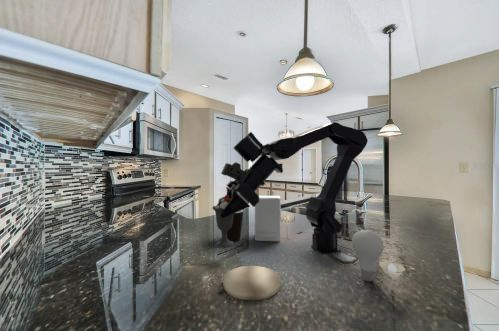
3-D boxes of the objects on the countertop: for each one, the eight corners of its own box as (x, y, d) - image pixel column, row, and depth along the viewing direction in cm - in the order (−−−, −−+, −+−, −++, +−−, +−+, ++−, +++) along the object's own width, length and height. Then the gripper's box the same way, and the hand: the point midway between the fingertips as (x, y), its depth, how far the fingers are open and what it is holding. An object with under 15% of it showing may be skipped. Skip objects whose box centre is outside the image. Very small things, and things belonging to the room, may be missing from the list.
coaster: (269, 268, 53) (268, 263, 53) (289, 295, 42) (289, 289, 42) (220, 274, 50) (220, 268, 50) (227, 304, 39) (227, 297, 39)
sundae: (233, 249, 55) (233, 190, 55) (208, 247, 56) (208, 190, 57) (239, 240, 61) (239, 188, 62) (217, 239, 63) (217, 188, 63)
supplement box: (280, 242, 73) (280, 198, 74) (254, 241, 75) (254, 197, 75) (281, 234, 82) (280, 195, 83) (257, 233, 84) (257, 195, 84)
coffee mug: (242, 243, 72) (242, 213, 73) (217, 243, 72) (217, 213, 73) (244, 233, 84) (244, 207, 84) (222, 233, 84) (222, 207, 84)
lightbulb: (384, 291, 43) (383, 235, 43) (350, 283, 46) (349, 231, 46) (384, 278, 48) (383, 229, 48) (354, 272, 51) (353, 225, 52)
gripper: (233, 155, 70) (198, 191, 67) (245, 150, 51) (198, 198, 48) (256, 179, 71) (223, 215, 68) (277, 182, 53) (233, 230, 50)
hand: (219, 214), depth 59 cm, fingers closed on sundae, 6 cm apart
